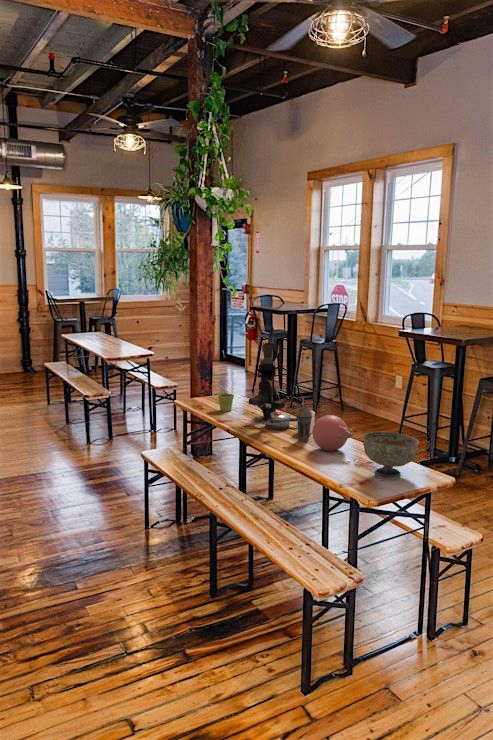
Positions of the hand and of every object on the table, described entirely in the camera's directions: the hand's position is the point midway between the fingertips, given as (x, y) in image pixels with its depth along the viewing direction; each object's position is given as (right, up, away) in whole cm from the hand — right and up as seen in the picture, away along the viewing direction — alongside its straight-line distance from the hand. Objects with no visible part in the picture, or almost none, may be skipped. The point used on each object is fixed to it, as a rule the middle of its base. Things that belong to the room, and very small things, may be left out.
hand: (266, 420), depth 279 cm
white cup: (+19, -6, +1) cm, 20 cm away
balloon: (+28, -11, -29) cm, 41 cm away
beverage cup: (+16, -8, -13) cm, 23 cm away
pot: (+6, -4, +10) cm, 12 cm away
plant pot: (-21, +2, +42) cm, 47 cm away
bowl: (+45, -16, -57) cm, 74 cm away
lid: (+3, 0, +6) cm, 7 cm away
